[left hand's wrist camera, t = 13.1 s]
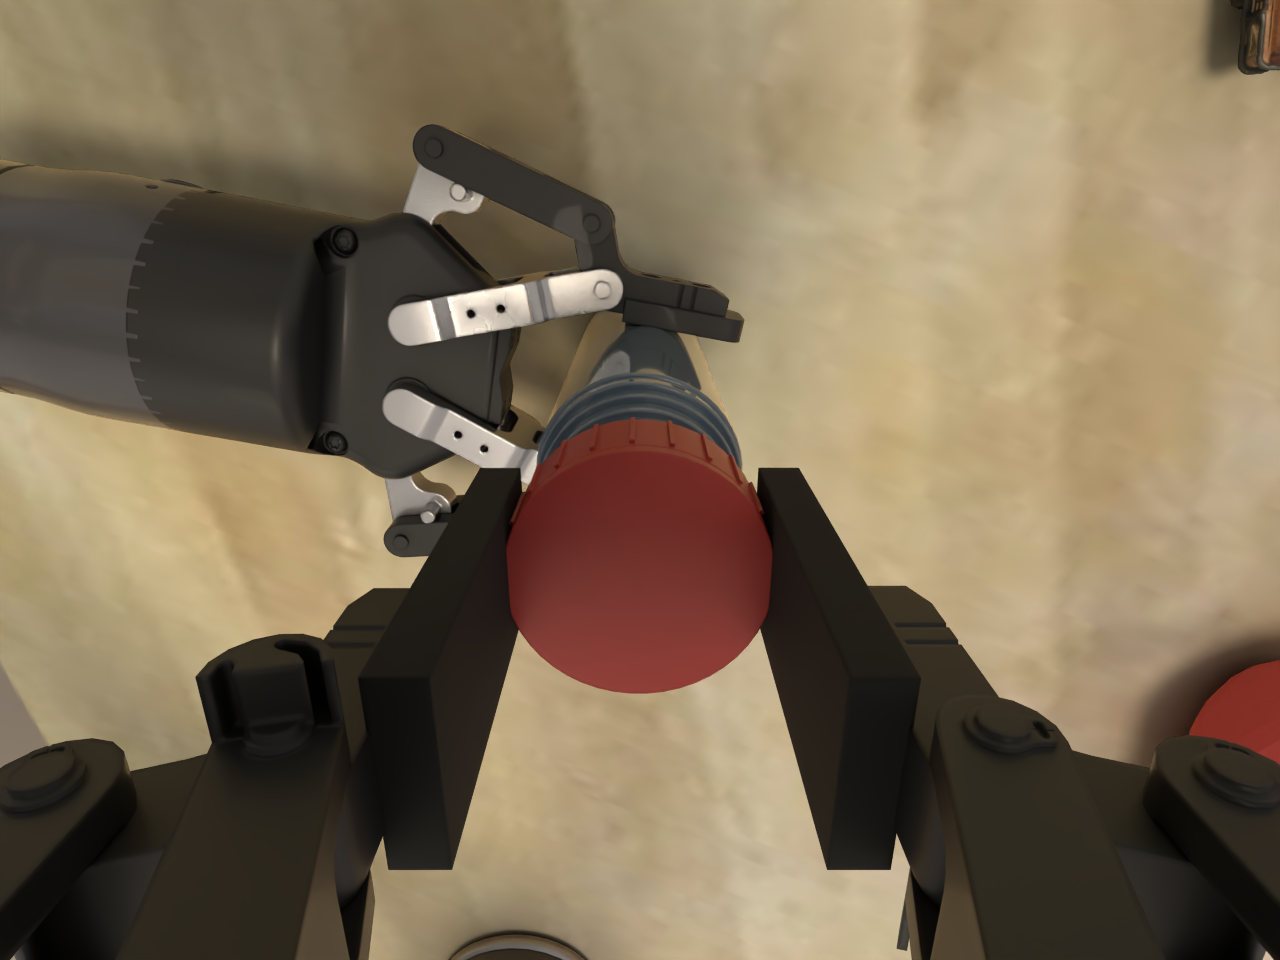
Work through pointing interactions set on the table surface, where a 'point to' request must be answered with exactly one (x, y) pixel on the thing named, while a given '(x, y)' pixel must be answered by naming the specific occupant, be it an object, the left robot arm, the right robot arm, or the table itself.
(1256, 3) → the toy car
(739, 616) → the cap
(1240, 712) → the toy
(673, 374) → the bottle
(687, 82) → the table surface
